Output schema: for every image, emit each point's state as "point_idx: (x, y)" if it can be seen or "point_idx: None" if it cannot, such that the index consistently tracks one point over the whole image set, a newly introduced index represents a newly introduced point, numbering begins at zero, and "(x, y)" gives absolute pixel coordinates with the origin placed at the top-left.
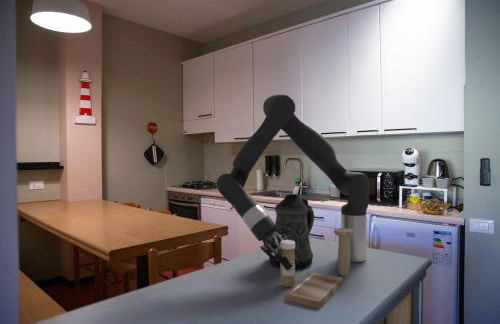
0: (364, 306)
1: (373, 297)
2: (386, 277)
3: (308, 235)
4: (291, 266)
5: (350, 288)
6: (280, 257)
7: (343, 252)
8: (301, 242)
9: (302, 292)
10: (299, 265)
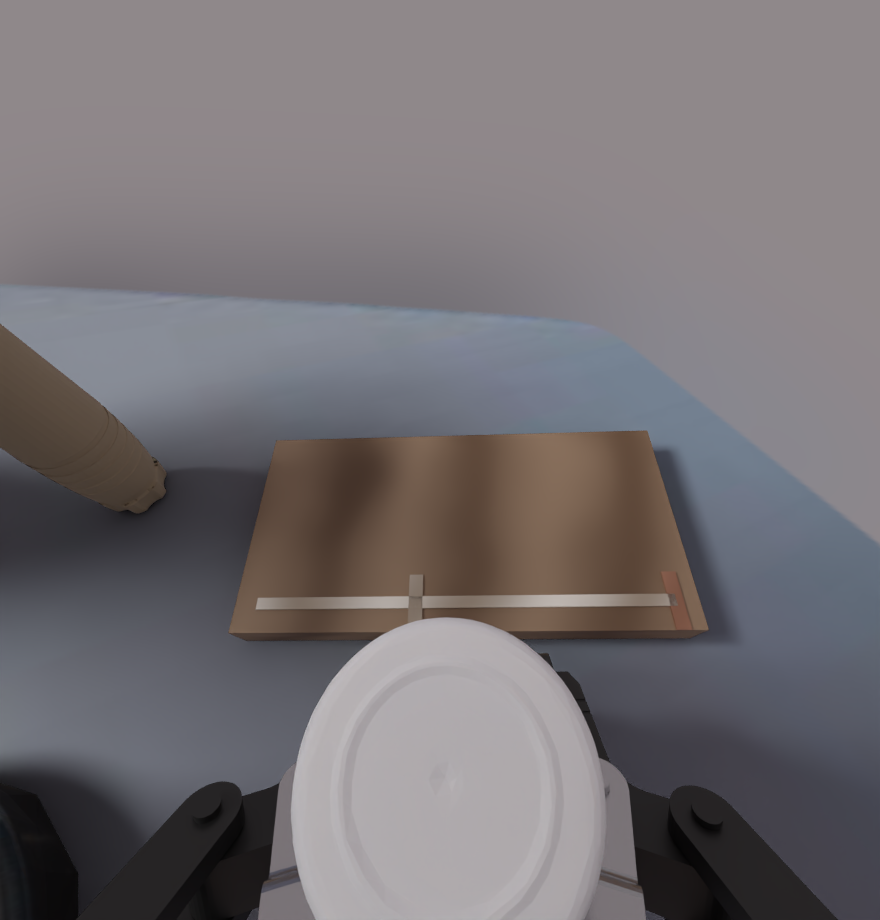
0: (492, 337)
1: (391, 333)
2: (144, 341)
3: None
4: (544, 654)
5: (336, 415)
6: (640, 792)
7: (68, 393)
8: None
9: (609, 542)
10: (38, 840)
